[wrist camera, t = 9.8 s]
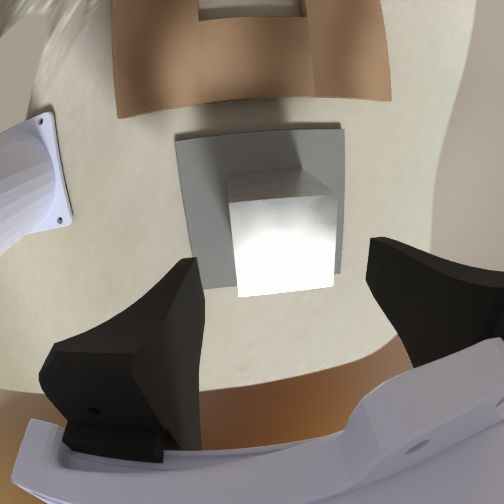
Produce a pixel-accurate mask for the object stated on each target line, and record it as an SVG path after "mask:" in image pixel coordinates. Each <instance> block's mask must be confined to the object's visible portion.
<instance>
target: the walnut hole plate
mask: <svg viewBox="0 0 504 504" xmlns="http://www.w3.org/2000/svg"><path fill="white" fill-rule="evenodd" d="M299 1H300V9H301V16H302V17H286V16H257V17H236V18H223V19H213V20H204V21H200V17H199V1H198V0H112V55H113V73H114V86H115V97H116V107H117V116H118V119H122V118H128V117H133V116H137V115H142V114H146V113H151V112H156V111H162V110H167V109H173V108H179V107H185V106H192V105H199V104H206V103H214V102H223V101H234V100H246V99H261V98H286V97H322V98H347V99H362V100H374V101H392V98H391V81H390V69H389V58H388V49H387V41H386V33H385V27H384V20H383V14H382V9H381V3H380V0H299Z"/></svg>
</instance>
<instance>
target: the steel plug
mask: <svg viewBox="0 0 504 504" xmlns="http://www.w3.org/2000/svg"><path fill="white" fill-rule="evenodd" d="M228 196H229V211H230V220H231V230H232V239H233V248H234V257H235V266H236V275H237V284H238V292H239V297H243V296H253V295H262V294H271V293H280V292H288V291H296V290H305V289H312V288H320V287H328V286H333V276H334V263H335V248H336V229H337V203H338V194H336V193H335V192H334V191H332V190H331V189H330V188H329V187H327V186H326V185H325V184H323V183H322V182H321V181H319V180H318V179H317V178H315V177H314V176H312V175H311V174H310V173H308V172H307V171H306V170H304V169H303V168H294V169H277V170H263V171H251V172H239V173H229V174H228Z"/></svg>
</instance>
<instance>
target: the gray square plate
mask: <svg viewBox="0 0 504 504" xmlns="http://www.w3.org/2000/svg"><path fill="white" fill-rule="evenodd" d="M175 145H176V153H177V161H178V168H179V175H180V182H181V188H182V195H183V201H184V208H185V214H186V220H187V225H188V231H189V237H190V243H191V248H192V253H193V257H197V262H198V267H199V272H200V278H201V283H202V288H203V289H211V288H221V287H231V286H238V284H237V275H236V266H235V257H234V248H233V239H232V230H231V220H230V211H229V196H228V174H229V173H239V172H251V171H263V170H277V169H294V168H303V169H304V170H306V171H307V172H308V173H310V174H311V175H312V176H314V177H315V178H317V179H318V180H319V181H321V182H322V183H323V184H325V185H326V186H327V187H329V188H330V189H331V190H332V191H334V192H335V193H336V194H338V203H337V229H336V248H335V263H334V274H340V269H341V256H342V241H343V222H344V192H345V139H344V129H297V130H274V131H259V132H246V133H235V134H225V135H216V136H208V137H200V138H193V139H186V140H179V141H175Z"/></svg>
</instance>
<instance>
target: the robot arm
mask: <svg viewBox="0 0 504 504" xmlns="http://www.w3.org/2000/svg"><path fill="white" fill-rule="evenodd" d="M41 118H42V119H43V123H42V124H41ZM59 217H61V218H62V220H63V222H61V221H60V219H59ZM72 222H73V215H72V211H71V207H70V203H69V199H68V195H67V190H66V186H65V181H64V176H63V171H62V166H61V161H60V155H59V149H58V143H57V136H56V129H55V120H54V115H53V113H52V112H44V113H42V114H40V115H37V116H35V117H33V118H31V119H28V120H26V121H24V122H22V123H20V124H18V125H16V126H14V127H12V128H10V129H8V130H6V131H4V132H2V133H0V255H2V254H3V253H4V252H5V251H6V250H7V249H9V248H10V247H11V246H12V245H13V244H15V243H16V242H17V241H18V240H20V239H21V238H22V237H23V236H25V235H26V234H30V233H34V232H39V231H44V230H49V229H54V228H59V227H64V226H68V225H70V224H71V223H72ZM366 282H367V284H368V286H369V288H370V290H371V292H372V294H373V296H374V298H375V300H376V301H377V303H378V304H379V306H380V307H381V309H382V310H383V312H384V313H385V315H386V316H387V318H388V319H389V321H390V322H391V324H392V325H393V327H394V328H395V330H396V332H397V333H398V335H399V337H400V338H401V340H402V342H403V344H404V346H405V349H406V351H407V353H408V355H409V357H410V360H411V363H412V365H413V369H411V370H408V371H406V372H404V373H401V374H399V375H397V376H395V377H393V378H390V379H389V380H386V381H384V382H383V383H382V384H380V385H379V386H378V387H376V388H375V389H374V390H372V391H371V392H369V393H368V394H367V395H365V396H364V397H363V399H362V400H361V401H360V403H359V404H358V405H357V407H356V408H355V409H354V411H353V412H352V414H351V415H350V417H349V420H348V423H347V425H346V428H345V429H344V430H342V431H339V432H336V433H334V434H331V435H327V436H323V437H318V438H313V439H308V440H303V441H297V442H291V443H285V444H278V445H271V446H263V447H253V448H243V449H231V450H211V451H209V450H208V451H202V442H201V429H200V411H199V364H200V356H201V348H202V340H203V332H204V324H205V298H204V293H203V288H202V283H201V278H200V272H199V267H198V262H197V257H192V258H183V259H181V260H179V261H178V262H177V263H176V264H175V266H174V267H173V268H172V269H171V270H170V271H169V272H168V273H167V274H166V275H165V276H164V277H163V278H162V279H161V280H160V281H159V282H158V283H157V284H156V285H155V286H154V287H152V288H151V289H150V290H149V291H148V292H147V293H146V294H145V295H144V296H143V297H141V298H140V299H139V300H138V301H136V302H135V303H134V304H132V305H131V306H130V307H128V308H127V309H125V310H124V311H122V312H121V313H119V314H117V315H116V316H114V317H113V318H111V319H109V320H108V321H106V322H104V323H102V324H100V325H98V326H96V327H94V328H92V329H90V330H88V331H86V332H84V333H81V334H79V335H76V336H74V337H71V338H68V339H66V340H63V341H60V342H57V343H54V345H53V347H52V349H51V351H50V353H49V354H48V356H47V358H46V360H45V362H44V364H43V366H42V368H41V370H40V372H39V382H40V385H41V388H42V390H43V391H44V393H45V394H46V396H47V397H48V398H49V400H50V401H51V402H52V403H53V404H54V406H55V407H56V408H57V409H58V410H59V411H60V413H61V414H62V415H63V416H64V417H65V418H66V419H67V420H68V422H67V426H66V429H64V428H62V427H60V426H59V425H56V424H53V423H48V422H44V421H40V420H36V419H30V422H29V424H28V427H27V430H26V432H25V435H24V438H23V441H22V444H21V447H20V450H19V453H18V456H17V459H16V462H15V465H14V469H13V472H12V476H11V480H12V482H13V483H15V484H17V485H18V486H20V487H21V488H23V489H24V490H26V491H27V492H29V493H31V494H33V495H34V496H36V497H38V498H39V499H41V500H43V501H45V502H46V503H48V504H504V272H501V271H491V270H486V269H481V268H476V267H471V266H467V265H462V264H459V263H456V262H452V261H449V260H446V259H443V258H440V257H437V256H434V255H432V254H429V253H427V252H424V251H422V250H419V249H417V248H414V247H412V246H409V245H407V244H404V243H402V242H399V241H396V240H393V239H390V238H386V237H376V238H370V247H369V256H368V264H367V272H366Z"/></svg>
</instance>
